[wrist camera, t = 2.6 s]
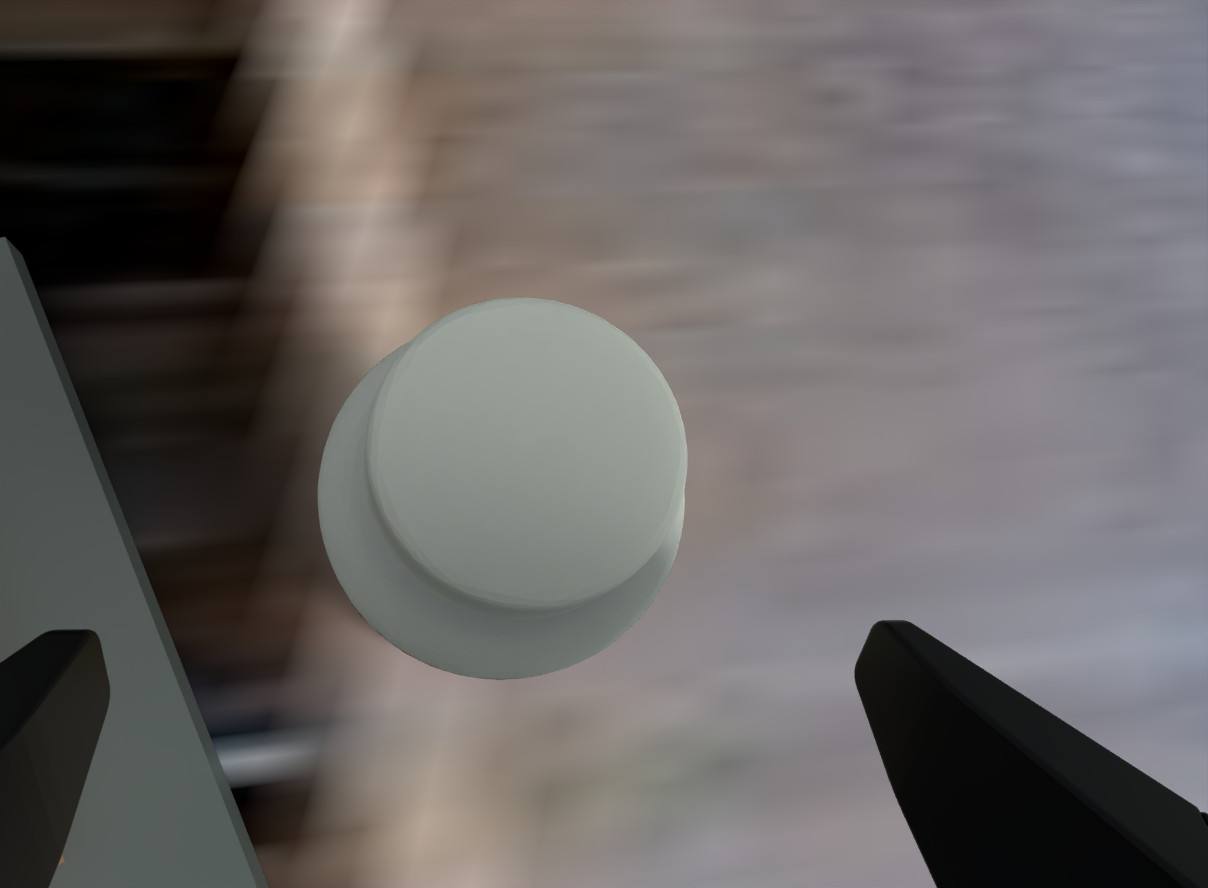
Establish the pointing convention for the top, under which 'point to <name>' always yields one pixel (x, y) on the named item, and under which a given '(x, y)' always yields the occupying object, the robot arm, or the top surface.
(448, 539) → the supplement bottle
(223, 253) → the top surface
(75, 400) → the dock
